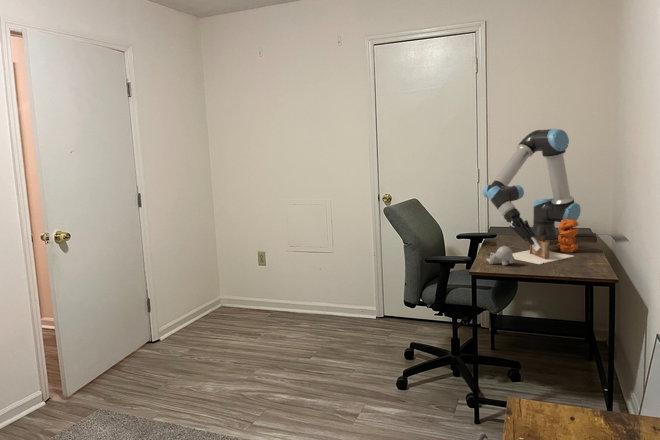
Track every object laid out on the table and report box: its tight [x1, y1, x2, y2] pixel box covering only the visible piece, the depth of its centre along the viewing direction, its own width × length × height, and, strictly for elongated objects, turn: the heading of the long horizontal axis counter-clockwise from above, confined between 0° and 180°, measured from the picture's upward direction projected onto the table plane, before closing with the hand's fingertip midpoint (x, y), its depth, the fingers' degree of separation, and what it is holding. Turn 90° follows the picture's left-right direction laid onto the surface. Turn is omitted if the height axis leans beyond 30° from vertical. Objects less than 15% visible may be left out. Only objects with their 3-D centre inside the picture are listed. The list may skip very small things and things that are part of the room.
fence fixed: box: [529, 235, 546, 254], centre depth 257 cm, size 11×2×8 cm, turn 126°
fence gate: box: [532, 239, 551, 258], centre depth 247 cm, size 13×2×8 cm, turn 8°
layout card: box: [512, 249, 575, 265], centre depth 250 cm, size 22×26×1 cm
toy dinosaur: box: [555, 217, 579, 254], centre depth 258 cm, size 11×11×18 cm
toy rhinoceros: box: [486, 245, 516, 267], centre depth 235 cm, size 7×12×8 cm, turn 66°
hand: (538, 249), depth 245 cm, fingers closed
